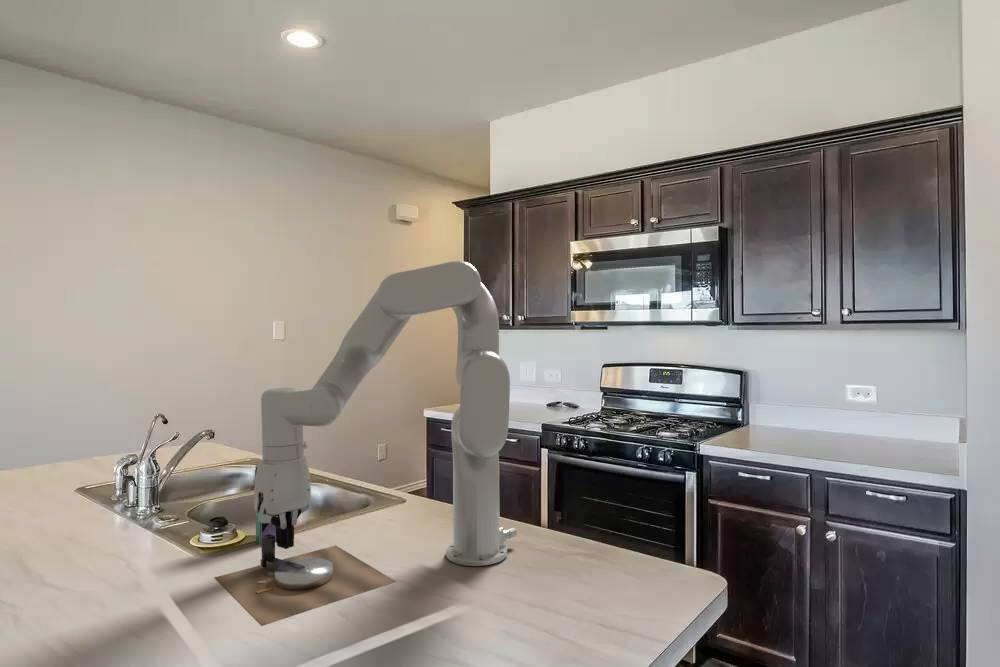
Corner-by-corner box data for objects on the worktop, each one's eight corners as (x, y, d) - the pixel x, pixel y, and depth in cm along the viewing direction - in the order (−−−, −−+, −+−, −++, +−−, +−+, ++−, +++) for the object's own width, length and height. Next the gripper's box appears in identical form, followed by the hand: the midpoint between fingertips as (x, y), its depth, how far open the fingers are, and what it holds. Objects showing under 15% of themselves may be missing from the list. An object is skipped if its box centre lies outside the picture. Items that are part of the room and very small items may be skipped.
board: (335, 552, 128) (335, 544, 128) (396, 589, 110) (396, 580, 110) (214, 585, 112) (214, 576, 112) (261, 635, 94) (261, 624, 94)
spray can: (274, 551, 129) (272, 457, 128) (250, 550, 130) (249, 456, 130) (288, 542, 134) (286, 451, 134) (265, 541, 135) (264, 450, 135)
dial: (344, 573, 113) (344, 543, 113) (300, 594, 104) (300, 561, 104) (285, 556, 121) (285, 528, 121) (241, 574, 113) (240, 543, 113)
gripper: (303, 443, 127) (305, 531, 127) (236, 457, 114) (238, 555, 115) (326, 447, 122) (328, 538, 123) (260, 462, 110) (262, 563, 110)
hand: (285, 546), depth 119 cm, fingers closed
